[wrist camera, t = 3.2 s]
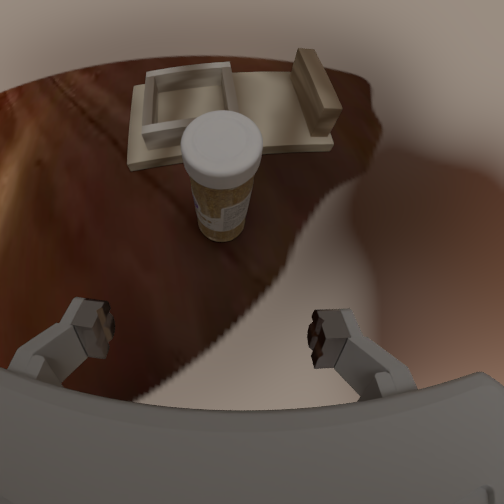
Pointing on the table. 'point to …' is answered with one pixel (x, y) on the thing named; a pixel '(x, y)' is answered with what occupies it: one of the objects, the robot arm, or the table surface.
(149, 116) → the caddy
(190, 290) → the table surface
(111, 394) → the table surface
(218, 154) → the sprinkles bottle
